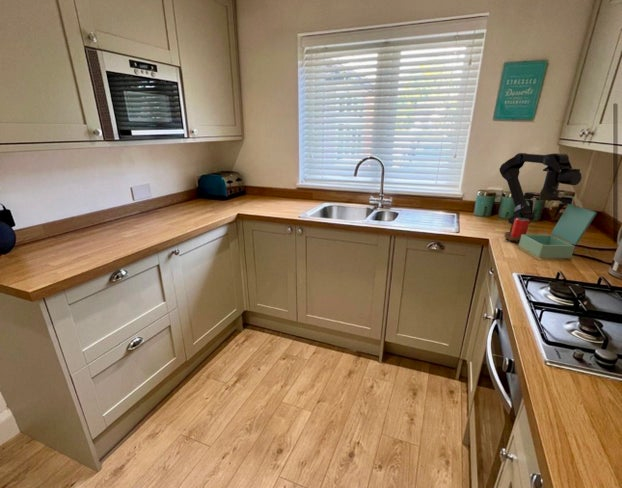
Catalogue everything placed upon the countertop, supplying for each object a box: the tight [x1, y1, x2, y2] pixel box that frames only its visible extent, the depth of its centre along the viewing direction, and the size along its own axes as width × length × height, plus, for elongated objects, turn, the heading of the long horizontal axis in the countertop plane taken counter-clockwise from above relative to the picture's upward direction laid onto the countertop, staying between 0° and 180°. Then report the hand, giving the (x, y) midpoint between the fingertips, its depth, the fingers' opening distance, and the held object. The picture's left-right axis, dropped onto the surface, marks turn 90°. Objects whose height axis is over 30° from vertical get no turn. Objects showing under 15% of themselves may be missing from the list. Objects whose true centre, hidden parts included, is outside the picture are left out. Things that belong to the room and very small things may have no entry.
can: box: [511, 218, 531, 238], centre depth 155 cm, size 6×6×8 cm
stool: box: [503, 232, 521, 245], centre depth 158 cm, size 9×9×4 cm
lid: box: [550, 204, 598, 246], centre depth 140 cm, size 14×15×1 cm
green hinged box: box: [518, 233, 576, 259], centre depth 144 cm, size 14×15×6 cm
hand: (543, 216), depth 155 cm, fingers open, 9 cm apart
